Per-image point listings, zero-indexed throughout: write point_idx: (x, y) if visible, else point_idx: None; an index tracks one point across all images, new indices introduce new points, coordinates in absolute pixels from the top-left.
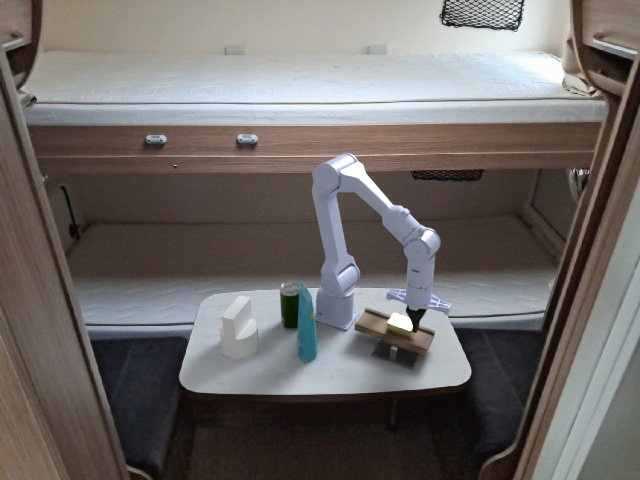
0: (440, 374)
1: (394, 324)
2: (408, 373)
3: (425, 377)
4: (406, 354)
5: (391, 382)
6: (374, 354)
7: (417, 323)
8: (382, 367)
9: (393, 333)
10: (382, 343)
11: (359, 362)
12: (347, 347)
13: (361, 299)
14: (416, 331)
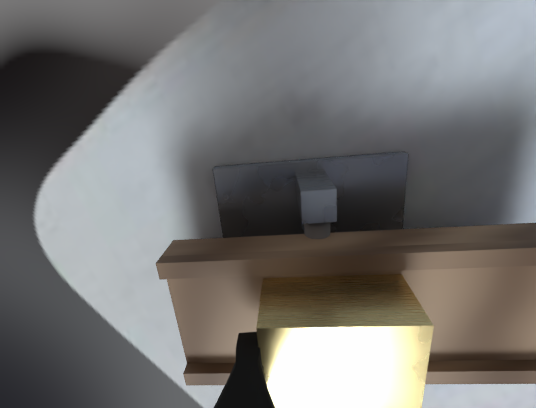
0: (111, 202)
1: (381, 333)
2: (219, 138)
3: (150, 155)
4: (268, 229)
5: (259, 39)
6: (396, 157)
7: (219, 404)
8: (333, 110)
9: (360, 282)
10: None
11: (445, 80)
12: (529, 143)
13: (533, 405)
14: (238, 342)
